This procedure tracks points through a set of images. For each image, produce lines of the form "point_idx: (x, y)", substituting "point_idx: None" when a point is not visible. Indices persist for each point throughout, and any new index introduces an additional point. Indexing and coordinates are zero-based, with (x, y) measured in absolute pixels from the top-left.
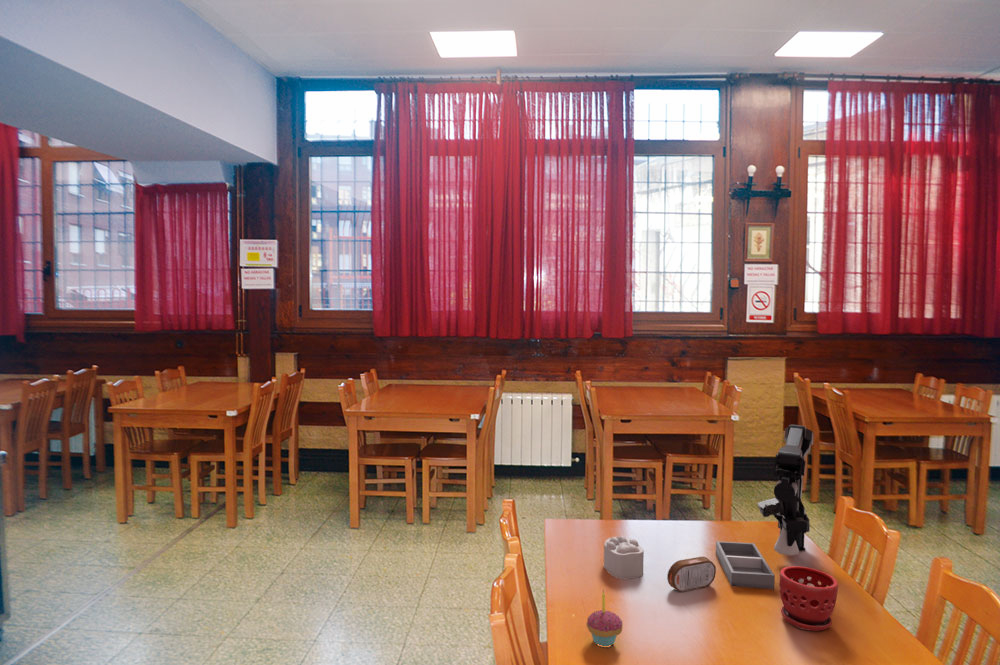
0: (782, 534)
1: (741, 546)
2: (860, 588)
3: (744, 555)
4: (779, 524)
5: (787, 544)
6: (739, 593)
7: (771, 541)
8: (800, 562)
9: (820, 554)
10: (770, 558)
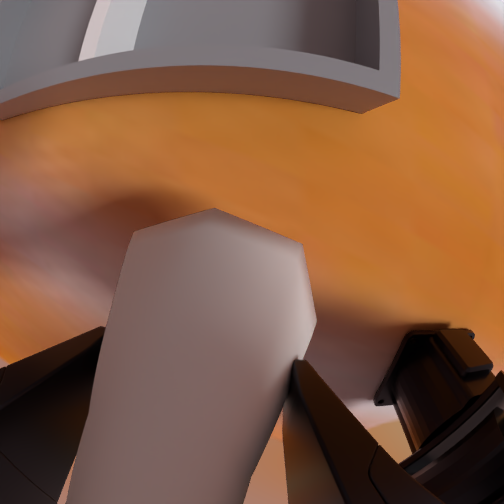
0: (119, 382)
1: (370, 12)
2: None
3: (312, 29)
4: (372, 492)
5: (100, 331)
6: None
7: (488, 301)
8: None
9: None
10: (320, 205)
